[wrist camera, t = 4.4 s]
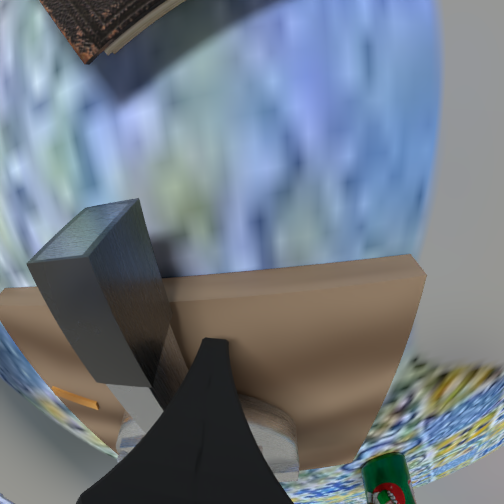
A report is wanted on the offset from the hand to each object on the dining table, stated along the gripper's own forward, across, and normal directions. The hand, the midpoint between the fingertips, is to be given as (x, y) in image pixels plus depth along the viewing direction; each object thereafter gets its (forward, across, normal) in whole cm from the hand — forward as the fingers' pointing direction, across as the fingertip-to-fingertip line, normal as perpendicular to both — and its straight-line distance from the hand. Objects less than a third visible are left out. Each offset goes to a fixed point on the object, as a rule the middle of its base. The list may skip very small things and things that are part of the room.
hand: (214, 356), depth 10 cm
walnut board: (+2, 0, +8) cm, 9 cm away
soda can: (+3, -18, +22) cm, 28 cm away
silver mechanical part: (+1, +1, +4) cm, 4 cm away
